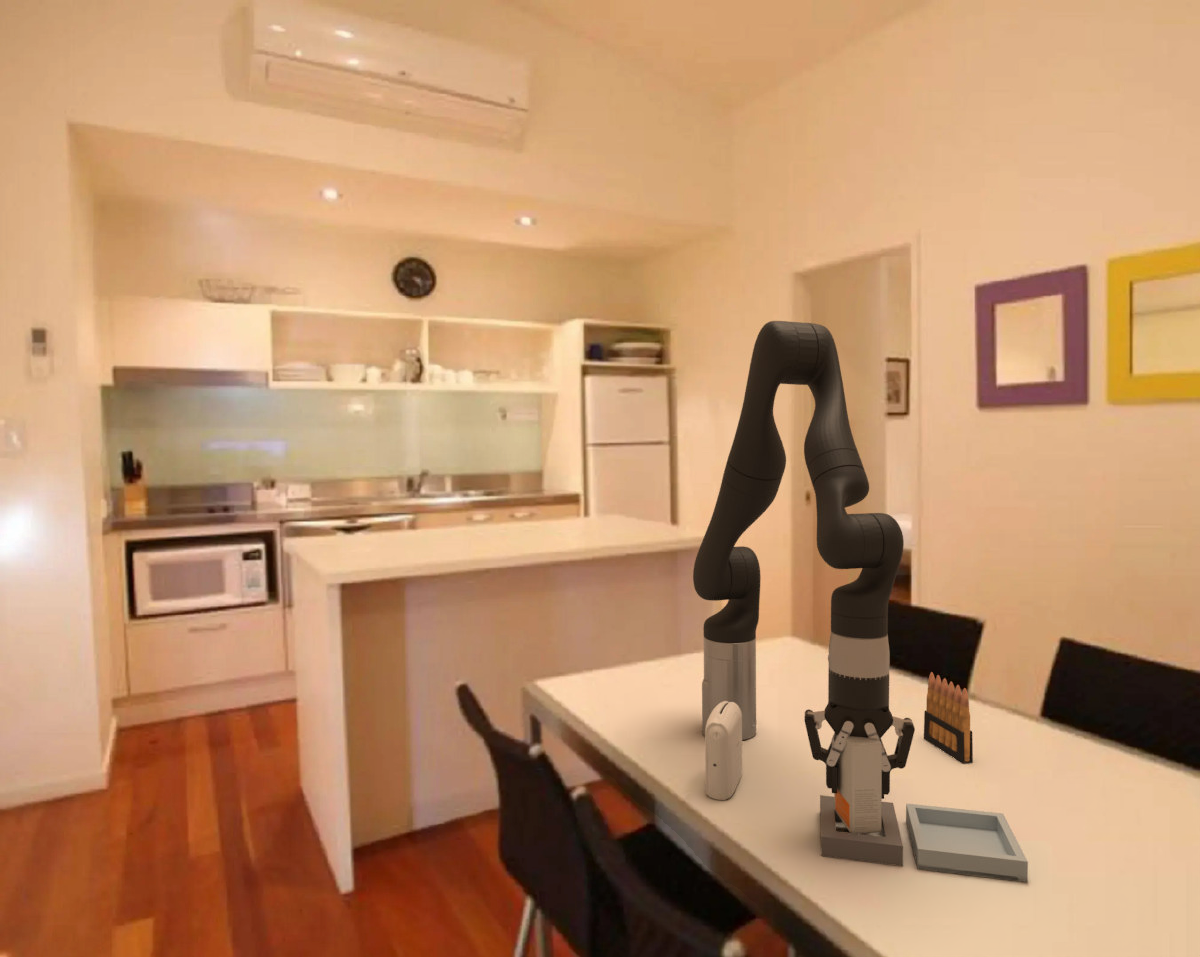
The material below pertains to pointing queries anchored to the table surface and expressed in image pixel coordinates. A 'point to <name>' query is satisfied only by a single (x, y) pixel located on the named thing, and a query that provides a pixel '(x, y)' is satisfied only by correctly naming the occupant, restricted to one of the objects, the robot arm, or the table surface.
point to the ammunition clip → (948, 719)
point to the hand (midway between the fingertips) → (857, 792)
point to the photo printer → (723, 750)
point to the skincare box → (860, 785)
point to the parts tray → (965, 842)
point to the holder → (861, 837)
